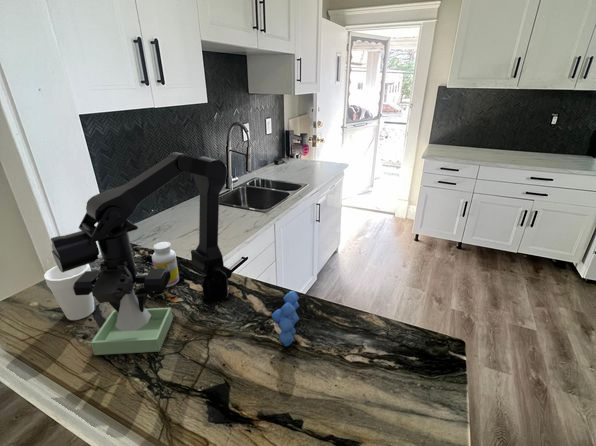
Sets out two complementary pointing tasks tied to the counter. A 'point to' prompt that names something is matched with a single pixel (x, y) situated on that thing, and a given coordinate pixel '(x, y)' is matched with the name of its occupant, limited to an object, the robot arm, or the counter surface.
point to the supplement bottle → (166, 261)
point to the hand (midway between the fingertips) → (131, 311)
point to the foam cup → (70, 292)
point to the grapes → (287, 318)
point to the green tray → (133, 334)
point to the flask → (131, 314)
